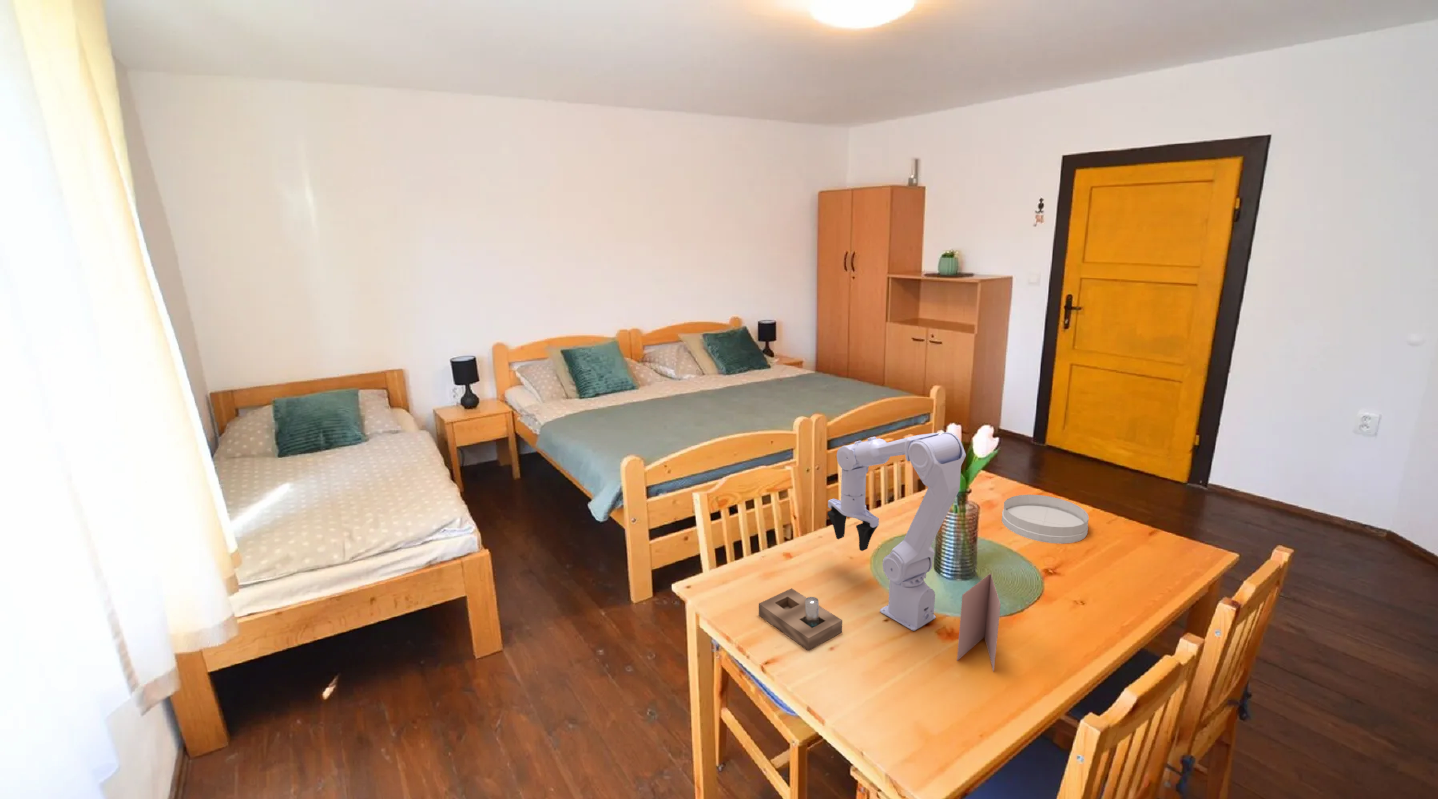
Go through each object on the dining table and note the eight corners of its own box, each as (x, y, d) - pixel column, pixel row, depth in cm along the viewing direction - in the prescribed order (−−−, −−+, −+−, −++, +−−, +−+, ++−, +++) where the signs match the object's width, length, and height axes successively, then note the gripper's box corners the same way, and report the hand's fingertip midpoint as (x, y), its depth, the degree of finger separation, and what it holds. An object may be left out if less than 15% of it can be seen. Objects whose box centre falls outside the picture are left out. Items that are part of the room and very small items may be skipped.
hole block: (841, 632, 138) (842, 620, 138) (808, 650, 133) (808, 638, 132) (791, 599, 151) (791, 588, 150) (758, 615, 145) (758, 603, 144)
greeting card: (980, 634, 136) (986, 571, 132) (1015, 650, 131) (1022, 585, 127) (952, 658, 129) (958, 592, 125) (988, 677, 124) (995, 608, 120)
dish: (1090, 519, 187) (1092, 503, 186) (1084, 551, 169) (1086, 534, 168) (1008, 504, 199) (1009, 489, 198) (994, 532, 181) (996, 516, 180)
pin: (820, 626, 139) (819, 598, 137) (817, 634, 137) (816, 605, 135) (807, 624, 140) (806, 596, 138) (804, 631, 138) (803, 603, 136)
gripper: (888, 497, 150) (885, 549, 154) (842, 479, 161) (841, 528, 165) (868, 505, 146) (866, 558, 150) (822, 486, 157) (821, 536, 161)
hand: (851, 543), depth 157 cm, fingers open, 7 cm apart
